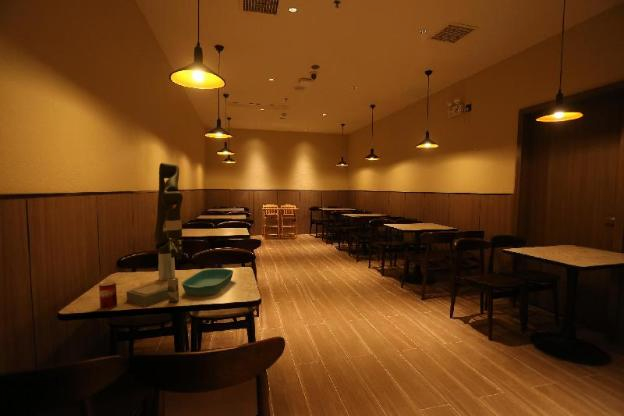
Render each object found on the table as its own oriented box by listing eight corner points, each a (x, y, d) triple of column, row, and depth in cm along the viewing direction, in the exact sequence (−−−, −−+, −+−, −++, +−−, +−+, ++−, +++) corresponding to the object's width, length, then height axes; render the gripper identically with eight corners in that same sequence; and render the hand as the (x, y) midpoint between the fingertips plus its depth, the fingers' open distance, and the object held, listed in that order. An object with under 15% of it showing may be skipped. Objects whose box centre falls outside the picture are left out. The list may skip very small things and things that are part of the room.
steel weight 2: (166, 302, 163) (165, 291, 163) (174, 299, 167) (174, 288, 167) (172, 304, 161) (172, 292, 160) (181, 301, 165) (180, 289, 164)
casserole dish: (215, 299, 167) (214, 286, 167) (175, 298, 169) (174, 285, 169) (238, 279, 204) (238, 268, 203) (205, 278, 206) (204, 267, 205)
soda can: (105, 304, 161) (103, 281, 161) (120, 303, 162) (118, 280, 161) (96, 310, 154) (95, 285, 153) (112, 309, 155) (111, 285, 154)
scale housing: (126, 301, 166) (126, 291, 166) (155, 291, 180) (154, 283, 179) (145, 306, 158) (144, 296, 158) (173, 296, 172) (173, 287, 171)
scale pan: (132, 293, 166) (132, 290, 166) (153, 287, 177) (153, 284, 177) (146, 297, 160) (146, 294, 160) (167, 290, 171) (167, 287, 171)
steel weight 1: (165, 291, 163) (165, 279, 162) (174, 288, 167) (173, 277, 166) (172, 292, 160) (171, 281, 160) (180, 289, 164) (180, 278, 164)
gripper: (162, 228, 173) (164, 258, 174) (172, 230, 163) (174, 261, 163) (176, 227, 178) (178, 255, 179) (186, 228, 168) (188, 258, 169)
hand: (176, 258), depth 171 cm, fingers open, 8 cm apart
